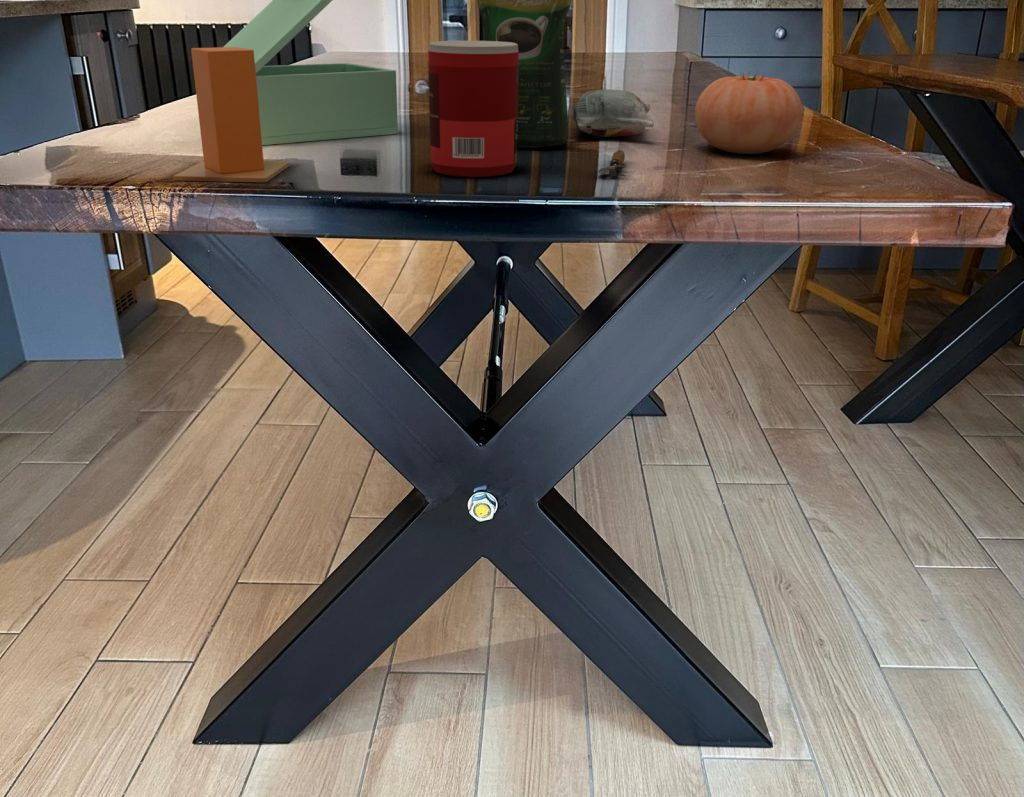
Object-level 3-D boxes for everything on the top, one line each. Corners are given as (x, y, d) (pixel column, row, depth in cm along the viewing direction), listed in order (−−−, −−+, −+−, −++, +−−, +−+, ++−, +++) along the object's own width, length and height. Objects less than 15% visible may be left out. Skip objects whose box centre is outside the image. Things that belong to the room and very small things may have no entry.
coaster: (173, 180, 81) (173, 175, 81) (204, 164, 89) (204, 159, 89) (266, 182, 81) (266, 177, 81) (289, 166, 89) (289, 161, 88)
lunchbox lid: (322, -37, 108) (318, -43, 108) (371, -37, 99) (366, -44, 99) (213, 66, 105) (208, 60, 104) (254, 75, 96) (249, 68, 96)
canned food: (533, 172, 87) (536, 44, 83) (461, 181, 83) (460, 46, 78) (484, 160, 93) (484, 39, 89) (414, 167, 88) (411, 41, 84)
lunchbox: (350, 121, 116) (347, 62, 114) (398, 133, 108) (396, 70, 105) (218, 131, 107) (211, 67, 105) (258, 145, 99) (252, 76, 96)
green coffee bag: (570, 140, 105) (577, -46, 98) (564, 151, 98) (571, -48, 91) (483, 137, 106) (483, -47, 99) (471, 148, 99) (471, -49, 92)
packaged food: (648, 128, 114) (651, 85, 112) (652, 144, 103) (654, 96, 101) (576, 127, 115) (577, 84, 113) (571, 142, 104) (572, 95, 102)
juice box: (220, 174, 82) (207, 51, 78) (204, 166, 85) (190, 48, 81) (264, 169, 84) (253, 49, 80) (247, 162, 87) (236, 46, 83)
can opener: (613, 160, 93) (614, 148, 92) (637, 162, 92) (638, 150, 92) (594, 177, 85) (595, 164, 84) (620, 179, 84) (621, 166, 84)
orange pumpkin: (819, 156, 98) (831, 74, 95) (739, 163, 93) (748, 78, 90) (747, 141, 107) (756, 65, 103) (670, 147, 102) (676, 68, 98)
